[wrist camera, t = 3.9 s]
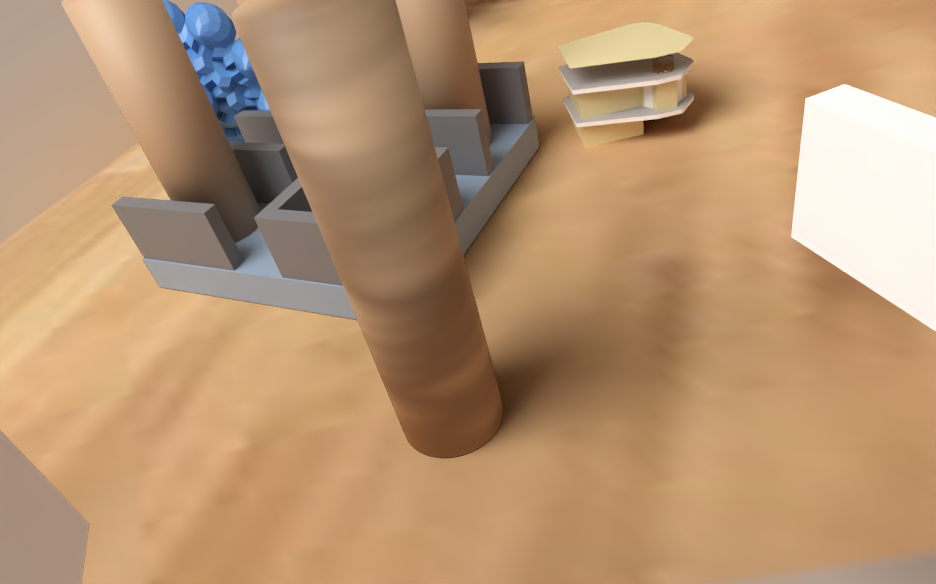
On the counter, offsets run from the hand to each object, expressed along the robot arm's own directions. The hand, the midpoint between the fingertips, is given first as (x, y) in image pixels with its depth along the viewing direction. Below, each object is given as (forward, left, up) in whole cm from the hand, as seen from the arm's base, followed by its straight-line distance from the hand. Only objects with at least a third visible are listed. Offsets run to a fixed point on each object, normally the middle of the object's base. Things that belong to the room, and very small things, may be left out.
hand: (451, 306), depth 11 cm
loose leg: (+7, -7, -13) cm, 16 cm away
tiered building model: (+6, -31, -14) cm, 35 cm away
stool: (+19, -20, -13) cm, 31 cm away
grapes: (+33, -24, -13) cm, 43 cm away
